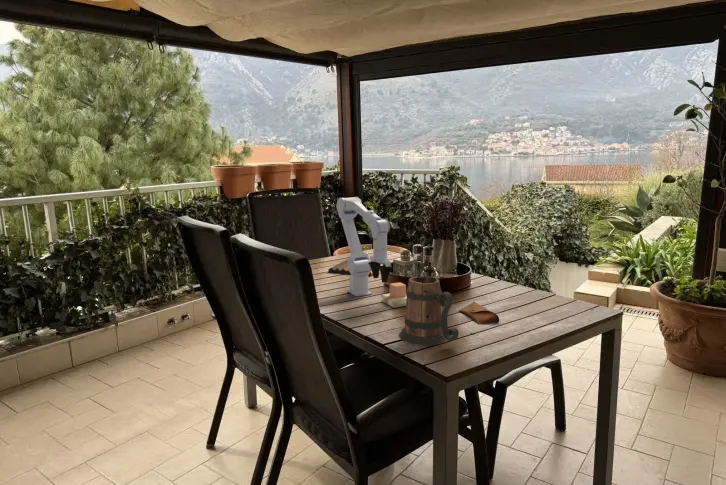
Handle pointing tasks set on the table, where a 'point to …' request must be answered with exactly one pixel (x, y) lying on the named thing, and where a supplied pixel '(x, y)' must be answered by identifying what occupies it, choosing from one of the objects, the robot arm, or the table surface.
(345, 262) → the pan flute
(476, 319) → the sunglasses case
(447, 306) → the tankard
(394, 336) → the table surface
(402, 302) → the base
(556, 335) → the table surface
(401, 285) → the cube
